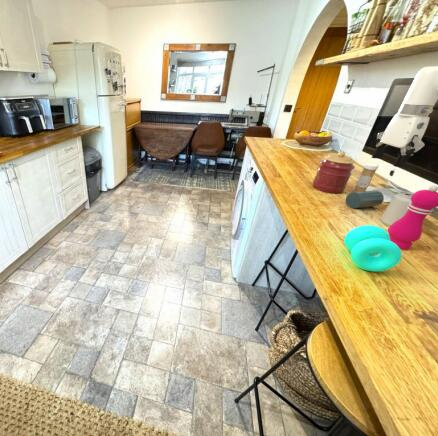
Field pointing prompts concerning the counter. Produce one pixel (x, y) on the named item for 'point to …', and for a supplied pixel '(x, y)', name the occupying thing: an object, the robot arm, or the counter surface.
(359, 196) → the cup
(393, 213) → the can
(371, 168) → the sprinkles bottle
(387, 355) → the counter surface
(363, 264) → the donuts
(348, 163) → the kitchen canister
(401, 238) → the pepper mill
